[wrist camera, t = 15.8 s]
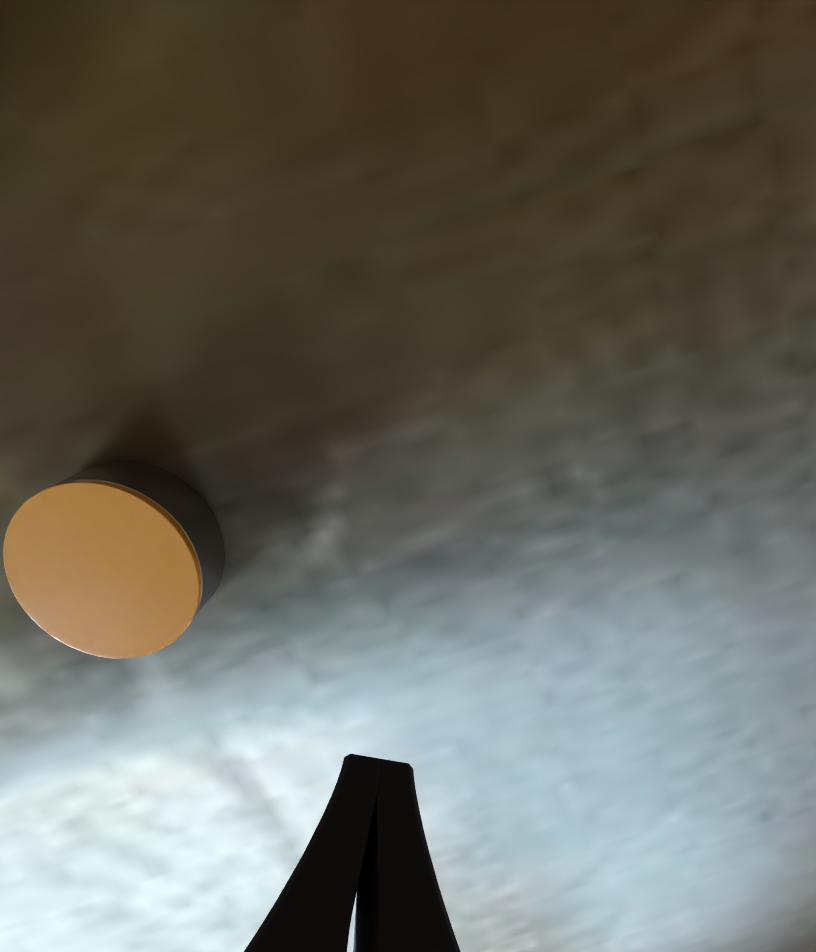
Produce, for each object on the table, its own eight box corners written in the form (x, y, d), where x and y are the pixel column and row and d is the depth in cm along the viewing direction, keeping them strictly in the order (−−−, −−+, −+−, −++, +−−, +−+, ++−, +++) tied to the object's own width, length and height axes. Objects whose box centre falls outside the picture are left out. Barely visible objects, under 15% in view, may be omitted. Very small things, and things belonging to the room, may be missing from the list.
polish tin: (41, 588, 22) (-7, 623, 19) (65, 435, 20) (14, 452, 17) (203, 642, 22) (176, 682, 20) (243, 498, 20) (218, 523, 18)
